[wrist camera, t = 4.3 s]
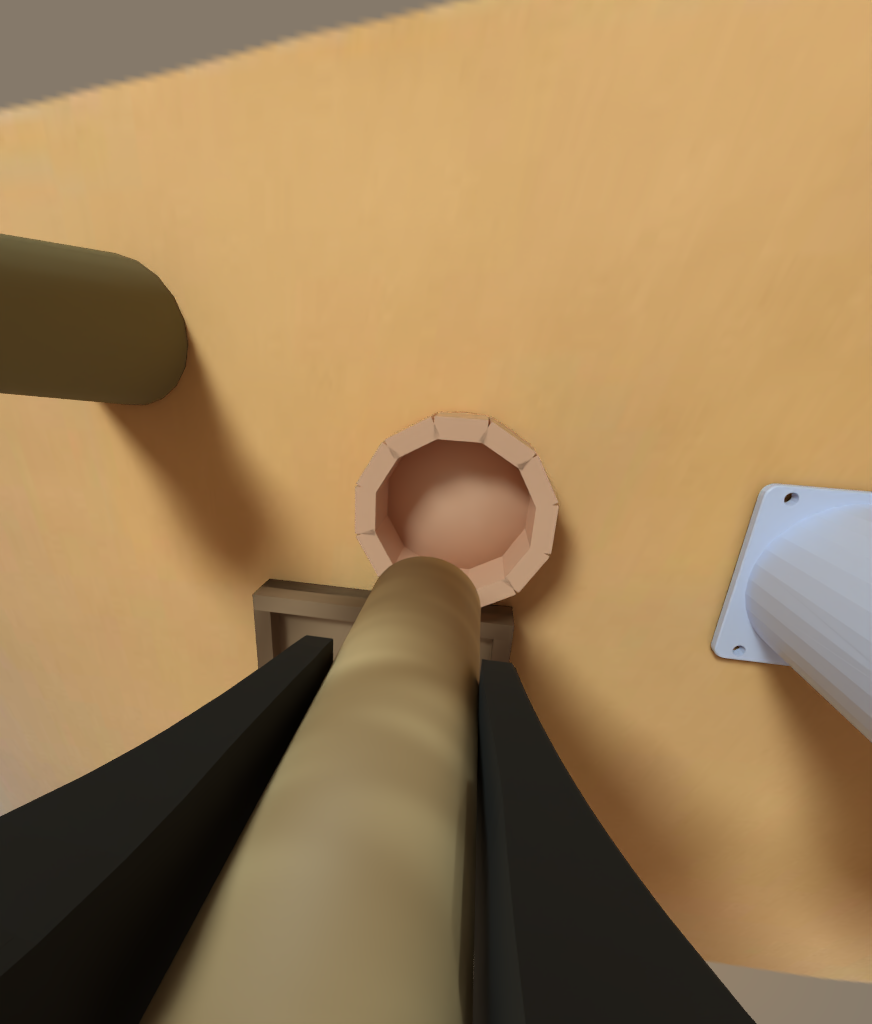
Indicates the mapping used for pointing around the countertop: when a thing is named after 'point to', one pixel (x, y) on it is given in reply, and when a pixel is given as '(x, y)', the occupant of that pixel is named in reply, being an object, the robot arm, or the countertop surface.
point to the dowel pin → (357, 836)
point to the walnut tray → (344, 619)
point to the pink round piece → (459, 502)
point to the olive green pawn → (85, 325)
